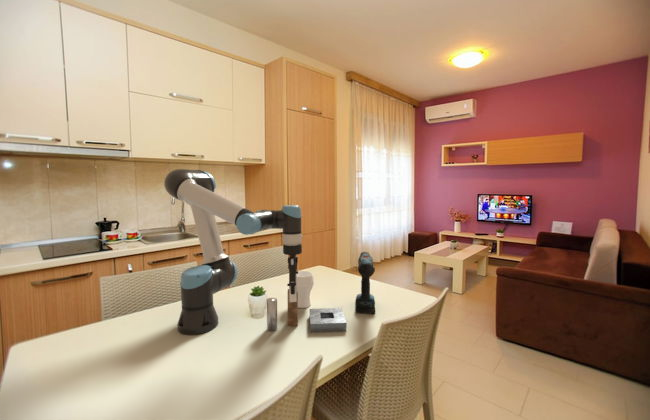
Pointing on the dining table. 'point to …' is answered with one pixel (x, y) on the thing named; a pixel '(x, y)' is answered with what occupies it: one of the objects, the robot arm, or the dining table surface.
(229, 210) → the robot arm
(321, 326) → the socket block
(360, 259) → the power drill
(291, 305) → the square bit
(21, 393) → the dining table surface
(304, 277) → the cup
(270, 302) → the round bit
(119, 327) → the dining table surface
